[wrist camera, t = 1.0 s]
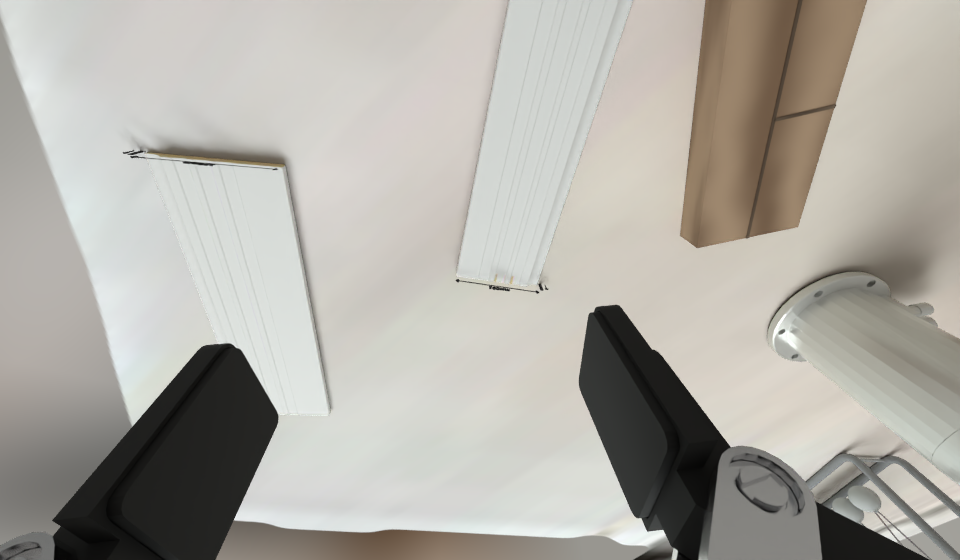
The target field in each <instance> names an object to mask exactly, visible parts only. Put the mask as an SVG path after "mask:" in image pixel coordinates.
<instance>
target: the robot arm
mask: <svg viewBox="0 0 960 560" xmlns="http://www.w3.org/2000/svg"><path fill="white" fill-rule="evenodd" d="M933 312H934V308H933V306H931V305H930V304H929V303H918V304H913V305H909V306H906V305H904V304H902V303H900V302H898V301H896V300H894V299H892V298H891V292H890V288H889V286H888V285H887V284H886V282H885V281H883V280H881V279H880V278H878V277H876V276H874V275H871V274H869V273H865V272H845V273H840V274H835V275H832V276H829V277H826V278H823V279H821V280H819V281H817V282H815V283H812V284H811V285H809V286H807V287H806V288H804V289H802V290H801V291H799V292H798V293H797V294H795V295H794V296H793V297H791V298H790V299H789V300H788V301H787V302H786V303H785V304H784V305H783V306H782V307H781V308H780V310H779V311H778V312H777V313H776V315H775V316H774V318H773V320H772V321H771V324H770V326H769V329H768V336H767V338H768V344H769V345H770V347H771V349H772V350H774V351H775V352H776V353H777V354H778V355H779V356H781V357H782V358H784V359H787V360H790V361H798V362H802V361H808V362H809V363H810V364H812V365H813V366H814V367H815V368H816V369H818V370H819V371H820V372H821V373H822V374H824V375H825V376H826V377H827V378H828V379H830V380H831V381H832V382H833V383H835V384H836V385H837V386H838V387H839V388H841V389H842V390H843V391H844V392H845V393H847V394H848V395H849V396H850V397H852V398H853V399H854V400H855V401H856V402H858V403H859V404H860V405H861V406H862V407H864V408H865V409H866V410H867V411H868V412H870V413H871V414H872V415H873V416H875V417H876V418H877V419H878V420H879V421H881V422H882V423H883V424H884V425H885V426H887V427H888V428H889V429H890V430H892V431H893V432H894V433H895V434H896V435H898V436H899V437H900V438H901V439H902V440H904V441H905V442H906V443H907V444H909V445H910V446H911V447H912V448H913V449H915V450H916V451H917V452H918V453H919V454H921V455H922V456H923V457H924V458H925V459H927V460H928V461H929V462H930V463H932V464H933V465H934V466H935V467H936V468H938V469H939V470H940V471H941V472H943V473H944V474H945V475H946V476H947V477H949V478H950V479H951V480H953V481H954V482H955V483H957V484H958V485H959V486H960V339H959V338H957V337H955V336H953V335H951V334H949V333H947V332H945V331H943V330H942V329H940V328H938V325H937V323H936V321H935V320H934V319H932V318H931V317H928V316H925V315H931V314H932V313H933ZM579 387H580V391H581V393H582V396H583V398H584V400H585V403H586V405H587V408H588V410H589V412H590V415H591V417H592V419H593V422H594V424H595V426H596V429H597V431H598V434H599V436H600V438H601V441H602V443H603V445H604V448H605V450H606V452H607V455H608V457H609V460H610V462H611V464H612V467H613V469H614V471H615V474H616V476H617V478H618V481H619V483H620V486H621V488H622V490H623V493H624V495H625V497H626V500H627V502H628V504H629V507H630V509H631V511H632V513H633V514H634V516H635V517H636V518H642V521H643V523H644V525H645V527H646V530H647V532H648V531H656V530H664V532H665V534H666V536H667V538H668V540H669V543H670V545H671V546H672V547H673V548H674V550H673V555H672V560H929V559H927V558H925V557H923V556H921V555H919V554H917V553H915V552H913V551H911V550H909V549H907V548H906V547H904V546H902V545H900V544H898V543H896V542H894V541H892V540H890V539H888V538H886V537H884V536H882V535H880V534H878V533H876V532H874V531H872V530H870V529H868V528H866V527H864V526H863V525H861V524H859V523H857V522H855V521H853V520H851V519H849V518H847V517H845V516H843V515H841V514H839V513H837V512H835V511H833V510H831V509H829V508H827V507H825V506H823V505H821V504H819V503H817V502H816V501H815V500H814V496H813V494H812V492H811V490H810V489H809V487H808V486H807V484H806V483H805V481H804V480H803V479H802V478H801V477H800V476H799V475H798V474H797V473H796V472H795V471H794V470H793V469H792V468H791V467H790V466H788V465H787V464H786V463H784V462H783V461H782V460H780V459H779V458H777V457H775V456H773V455H771V454H769V453H767V452H766V451H763V450H759V449H756V448H753V447H747V446H736V447H730V446H729V444H728V443H727V442H726V440H725V439H724V438H723V436H722V435H721V434H720V433H719V431H718V430H717V429H716V427H715V426H714V425H713V423H712V422H711V421H710V419H709V418H708V417H707V415H706V414H705V413H704V411H703V410H702V409H701V407H700V406H699V405H698V403H697V402H696V401H695V399H694V398H693V397H692V395H691V394H690V393H689V391H688V390H687V389H686V387H685V386H684V385H683V383H682V382H681V381H680V379H679V378H678V377H677V375H676V374H675V373H674V371H673V370H672V369H671V367H670V366H669V365H668V364H667V362H666V361H665V360H664V358H663V357H662V356H661V355H660V354H659V353H658V352H657V351H655V350H652V349H651V348H650V346H649V345H648V343H647V342H646V341H645V339H644V338H643V337H642V335H641V334H640V333H639V331H638V330H637V329H636V327H635V326H634V324H633V323H632V322H631V320H630V319H629V318H628V316H627V315H626V314H625V312H624V311H623V310H622V308H621V307H620V306H619V305H610V306H600V307H596V308H595V311H594V312H593V313H590V314H589V316H588V322H587V329H586V335H585V342H584V348H583V355H582V362H581V368H580V375H579ZM277 424H278V413H277V410H276V409H275V407H274V405H273V404H272V402H271V400H270V398H269V397H268V395H267V393H266V392H265V390H264V388H263V386H262V385H261V383H260V381H259V379H258V378H257V376H256V374H255V373H254V371H253V369H252V367H251V366H250V364H249V362H248V361H247V359H246V357H245V355H244V354H243V352H242V351H241V349H239V348H236V347H235V346H234V345H232V344H231V343H224V344H214V345H205V346H203V347H201V348H200V349H199V350H198V351H197V352H196V353H195V355H194V356H193V357H192V358H191V359H190V360H189V362H188V363H187V364H186V365H185V366H184V367H183V369H182V370H181V371H180V372H179V373H178V374H177V376H176V377H175V378H174V379H173V380H172V381H171V383H170V384H169V385H168V386H167V387H166V388H165V390H164V391H163V392H162V393H161V394H160V395H159V397H158V398H157V399H156V400H155V401H154V402H153V404H152V405H151V406H150V407H149V408H148V409H147V411H146V412H145V413H144V414H143V415H142V416H141V418H140V419H139V420H138V421H137V422H136V423H135V425H134V426H133V427H132V428H131V429H130V430H129V432H128V433H127V434H126V435H125V436H124V437H123V439H122V440H121V441H120V442H119V443H118V444H117V446H116V447H115V448H114V449H113V450H112V451H111V453H110V454H109V455H108V456H107V457H106V458H105V460H104V461H103V462H102V463H101V464H100V465H99V466H98V468H97V469H96V470H95V471H94V472H93V473H92V475H91V476H90V477H89V478H88V479H87V480H86V482H85V483H84V484H83V485H82V486H81V487H80V489H79V490H78V491H77V492H76V494H74V496H73V497H72V498H71V499H70V500H69V502H68V503H67V504H66V505H65V506H64V507H63V508H62V510H61V511H60V512H59V513H58V514H57V516H56V517H55V518H54V519H53V520H52V521H54V522H55V523H57V524H58V525H60V526H61V527H60V528H59V529H58V531H57V532H56V533H55V534H54V536H52V535H50V534H48V533H46V532H32V533H29V534H26V535H22V536H19V537H16V538H14V539H12V540H10V541H8V542H6V543H4V544H2V545H0V560H215V559H216V557H217V555H218V553H219V551H220V549H221V546H222V544H223V542H224V540H225V538H226V536H227V533H228V531H229V529H230V527H231V525H232V522H233V520H234V518H235V516H236V514H237V512H238V509H239V507H240V505H241V503H242V501H243V499H244V496H245V494H246V492H247V490H248V488H249V486H250V483H251V481H252V479H253V477H254V475H255V472H256V470H257V468H258V466H259V464H260V462H261V459H262V457H263V455H264V453H265V451H266V449H267V446H268V444H269V442H270V440H271V438H272V435H273V433H274V431H275V429H276V427H277Z"/></svg>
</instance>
